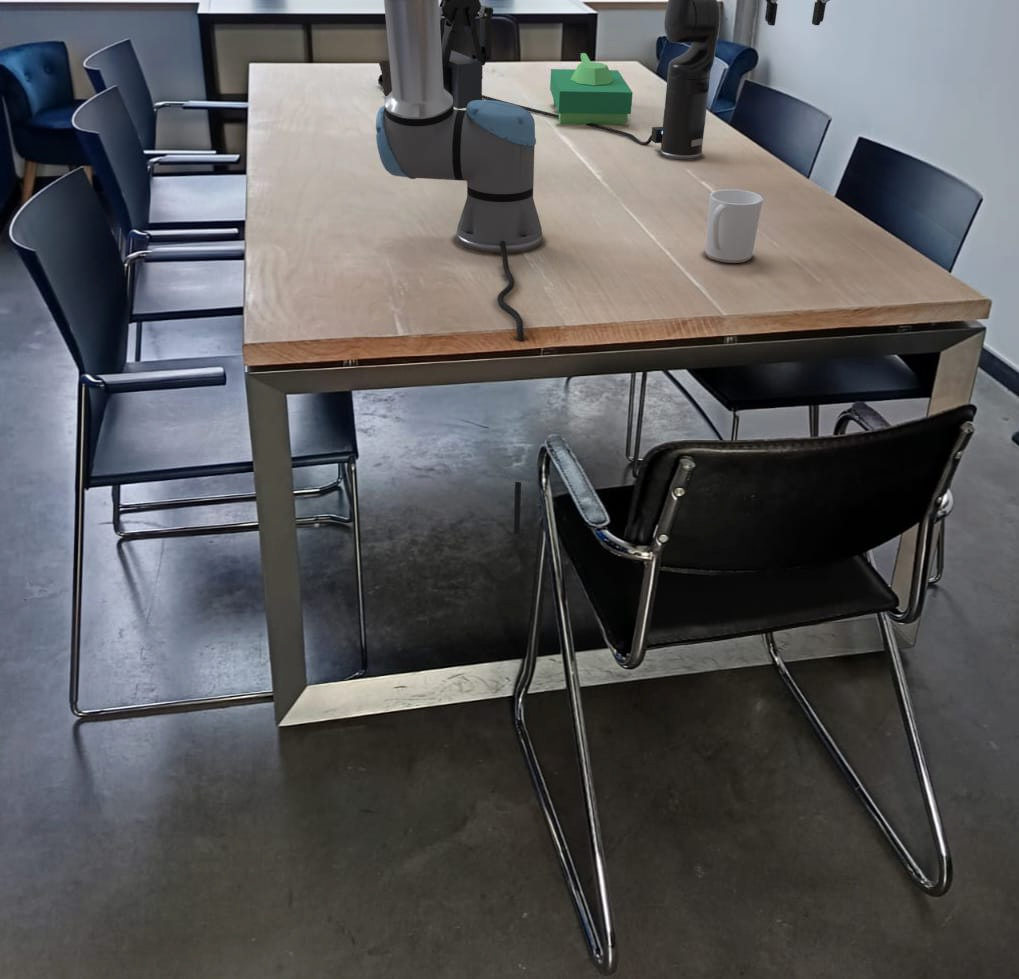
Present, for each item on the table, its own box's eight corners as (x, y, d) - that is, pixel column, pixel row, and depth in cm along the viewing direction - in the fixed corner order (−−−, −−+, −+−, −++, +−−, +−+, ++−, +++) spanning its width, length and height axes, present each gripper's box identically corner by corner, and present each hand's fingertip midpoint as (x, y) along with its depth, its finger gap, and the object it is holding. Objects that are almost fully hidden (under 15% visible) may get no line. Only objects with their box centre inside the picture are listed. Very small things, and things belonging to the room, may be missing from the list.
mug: (719, 243, 196) (726, 186, 191) (763, 254, 192) (772, 196, 186) (686, 258, 189) (693, 199, 184) (732, 271, 184) (740, 210, 179)
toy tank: (615, 49, 292) (633, 76, 262) (611, 97, 298) (629, 128, 269) (549, 48, 291) (560, 74, 261) (547, 96, 297) (558, 127, 268)
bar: (481, 106, 220) (482, 62, 216) (458, 109, 218) (457, 64, 213) (431, 83, 237) (430, 41, 232) (408, 85, 234) (407, 43, 230)
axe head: (443, 87, 294) (392, 77, 287) (436, 115, 299) (385, 106, 292) (421, 62, 307) (371, 52, 300) (414, 89, 311) (365, 80, 304)
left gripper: (492, -31, 216) (491, 91, 228) (408, -27, 208) (411, 100, 220) (511, -27, 210) (509, 99, 223) (425, -22, 202) (428, 108, 215)
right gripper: (837, -76, 195) (822, 21, 204) (761, -77, 193) (749, 21, 202) (854, -73, 189) (838, 28, 197) (775, -74, 187) (762, 28, 196)
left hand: (460, 99), depth 221 cm, fingers closed on bar, 5 cm apart
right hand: (793, 24), depth 200 cm, fingers open, 8 cm apart
